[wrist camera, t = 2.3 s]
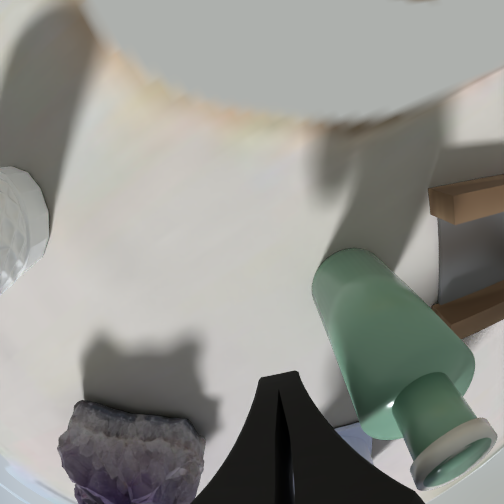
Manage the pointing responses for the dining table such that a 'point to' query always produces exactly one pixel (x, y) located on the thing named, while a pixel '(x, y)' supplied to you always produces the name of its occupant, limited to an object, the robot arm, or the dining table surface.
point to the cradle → (470, 253)
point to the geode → (130, 457)
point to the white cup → (20, 224)
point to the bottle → (401, 366)
